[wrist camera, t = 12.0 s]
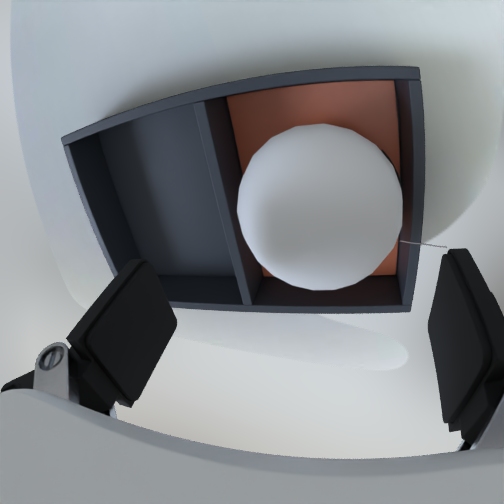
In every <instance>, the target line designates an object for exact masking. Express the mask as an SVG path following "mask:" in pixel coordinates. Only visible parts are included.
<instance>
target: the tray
mask: <svg viewBox="0 0 504 504" xmlns="http://www.w3.org/2000/svg"><path fill="white" fill-rule="evenodd" d="M420 79H421V77H420V69H419V67H411V66H356V67H337V68H323V69H312V70H303V71H294V72H286V73H279V74H272V75H266V76H260V77H254V78H248V79H243V80H238V81H233V82H228V83H223V84H219V85H214V86H210V87H206V88H201V89H197V90H193V91H190V92H186V93H182V94H178V95H175V96H171V97H168V98H165V99H161V100H158V101H155V102H152V103H148V104H145V105H142V106H139V107H136V108H133V109H130V110H128V111H125V112H122V113H119V114H117V115H114V116H111V117H109V118H106V119H103V120H101V121H98V122H96V123H93V124H91V125H89V126H86V127H84V128H81V129H79V130H77V131H75V132H72V133H70V134H68V135H66V136H63V137H62V138H61V141H62V144H63V146H64V151H65V154H66V157H67V160H68V163H69V166H70V169H71V172H72V175H73V178H74V181H75V184H76V187H77V189H78V192H79V195H80V198H81V200H82V203H83V205H84V208H85V211H86V213H87V216H88V218H89V221H90V223H91V226H92V228H93V231H94V233H95V235H96V238H97V240H98V242H99V245H100V247H101V249H102V251H103V254H104V256H105V258H106V260H107V263H108V265H109V267H110V269H111V271H112V273H113V275H114V277H116V276H117V274H118V273H119V272H120V271H121V270H122V269H123V268H124V266H125V265H126V264H127V263H128V262H129V261H130V260H132V259H147V260H148V261H149V263H151V264H152V265H153V266H154V269H155V271H156V274H157V276H158V278H159V281H160V283H161V285H162V288H163V290H164V292H165V295H166V297H167V299H168V301H169V304H170V306H171V307H172V308H185V309H201V310H218V311H238V312H265V313H311V314H322V313H323V314H326V313H327V314H335V313H336V314H341V313H342V314H343V313H344V314H350V313H351V314H354V313H400V312H410V311H411V306H412V305H411V304H412V300H413V295H414V288H415V283H416V276H417V269H418V261H419V253H420V245H421V244H412V243H421V235H422V224H423V210H424V191H425V129H424V110H423V97H422V86H421V81H420ZM323 123H325V124H329V125H334V126H338V127H342V128H347V129H350V130H353V131H355V132H356V133H358V134H359V135H361V136H363V137H364V138H366V139H368V140H369V141H371V142H372V143H374V144H375V145H376V146H377V147H378V148H379V149H380V150H382V149H383V151H384V152H385V153H386V154H387V155H388V157H389V158H390V159H391V161H392V163H393V164H394V166H395V168H396V170H397V172H398V174H399V177H400V180H401V183H402V188H403V195H404V207H403V215H402V227H401V230H400V233H399V235H398V238H397V241H396V243H395V246H394V248H393V249H392V250H391V252H390V253H389V254H388V255H387V256H386V258H385V259H384V260H383V261H382V262H381V264H380V265H379V266H378V267H377V268H376V269H375V271H374V272H373V273H372V274H370V275H368V276H367V277H365V278H364V279H362V280H360V281H359V282H357V283H356V284H353V285H349V286H346V287H343V288H339V289H336V290H310V289H306V288H301V287H297V286H293V285H291V284H289V283H287V282H285V281H283V280H281V279H279V278H277V277H275V276H273V275H272V274H271V273H270V272H269V271H268V270H267V269H266V268H265V267H263V266H262V265H261V264H260V263H259V262H258V261H257V259H256V258H255V256H254V254H253V253H252V251H251V249H250V248H249V246H248V244H247V243H246V240H245V238H244V236H243V234H242V230H241V226H240V222H239V218H238V214H237V204H238V194H239V187H240V184H241V181H242V178H243V175H244V173H245V171H246V169H247V167H248V165H249V163H250V161H251V159H252V156H253V155H254V154H255V153H256V152H257V151H258V150H259V149H260V148H261V147H262V146H263V145H264V144H265V143H266V142H267V141H268V140H269V139H270V138H272V137H274V136H276V135H278V134H280V133H282V132H284V131H286V130H289V129H291V128H293V127H295V126H303V125H312V124H323ZM400 241H406V242H412V243H406V242H400Z"/></svg>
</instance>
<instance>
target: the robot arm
mask: <svg viewBox="0 0 504 504" xmlns="http://www.w3.org/2000/svg"><path fill="white" fill-rule="evenodd" d="M176 327H177V319H176V317H175V315H174V312H173V310H172V308H171V306H170V304H169V301H168V299H167V297H166V295H165V292H164V290H163V288H162V285H161V283H160V281H159V278H158V276H157V274H156V271H155V269H154V266H153V265H152V264H151V263H149V261H148V260H147V259H132V260H130V261H129V262H128V263H127V264H126V265H125V266H124V268H123V269H122V270H121V271H120V272H119V273H118V274H117V276H116V277H115V278H114V279H113V280H112V282H111V283H110V284H109V285H108V286H107V287H106V289H105V290H104V291H103V292H102V294H101V295H100V296H99V297H98V298H97V300H96V301H95V302H94V303H93V305H92V306H91V307H90V308H89V309H88V311H87V312H86V313H85V315H84V316H83V317H82V318H81V320H80V321H79V322H78V323H77V325H76V326H75V327H74V329H73V330H72V331H71V332H70V334H69V335H68V336H67V338H66V339H67V340H68V342H69V343H70V344H71V348H70V349H69V348H68V347H67V346H66V344H64V343H62V342H56V343H53V344H51V345H49V346H47V347H46V348H45V349H44V350H43V351H42V352H41V353H40V354H39V356H38V358H37V360H36V363H35V370H33V371H31V372H29V373H27V374H25V375H23V376H21V377H18V378H16V379H14V380H12V381H10V382H8V383H6V384H5V385H4V386H3V387H2V389H1V393H0V504H504V316H503V314H502V311H501V309H500V307H499V305H498V303H497V301H496V299H495V297H494V295H493V294H492V292H490V290H489V288H488V286H487V284H486V282H485V281H484V278H483V277H482V275H481V273H480V271H479V269H478V267H477V265H476V263H475V262H474V260H473V258H472V256H471V254H470V253H469V251H468V250H467V249H466V248H464V249H450V250H449V251H448V253H447V254H444V255H443V256H442V260H441V265H440V271H439V276H438V281H437V286H436V291H435V295H434V300H433V304H432V308H431V312H430V316H429V320H428V333H429V337H430V342H431V346H432V352H433V357H434V362H435V368H436V373H437V380H438V385H439V393H440V400H441V408H442V416H443V421H444V423H448V425H449V432H453V431H459V430H461V436H462V439H463V441H462V443H461V444H460V446H459V447H458V449H457V450H456V451H455V452H448V453H440V454H431V455H423V456H412V457H399V458H378V459H321V458H304V457H291V456H280V455H271V454H262V453H255V452H249V451H242V450H236V449H230V448H224V447H219V446H213V445H209V444H204V443H200V442H195V441H190V440H186V439H182V438H178V437H174V436H171V435H167V434H163V433H159V432H156V431H153V430H149V429H146V428H142V427H139V426H136V425H133V424H130V423H127V422H124V421H121V420H118V419H117V416H116V411H115V406H114V403H115V401H117V402H118V403H119V404H120V405H123V406H126V407H130V408H131V407H132V405H133V404H134V402H135V401H136V400H138V398H139V397H140V395H141V393H142V391H143V389H144V387H145V386H146V384H147V382H148V380H149V378H150V376H151V374H152V372H153V370H154V368H155V367H156V364H157V363H158V361H159V359H160V357H161V355H162V354H163V352H164V350H165V348H166V346H167V344H168V342H169V340H170V339H171V337H172V335H173V333H174V331H175V329H176Z"/></svg>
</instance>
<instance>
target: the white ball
mask: <svg viewBox="0 0 504 504" xmlns="http://www.w3.org/2000/svg"><path fill="white" fill-rule="evenodd" d="M403 207H404V195H403V188H402V183H401V180H400V177H399V174H398V172H397V170H396V168H395V166H394V164H393V163H392V161H391V159H390V158H389V157H388V155H387V154H386V153H385V152H384V151H383V149H382V150H380V149H379V148H378V147H377V146H376V145H375V144H374V143H372V142H371V141H369V140H368V139H366V138H364V137H363V136H361V135H359V134H358V133H356V132H355V131H353V130H350V129H347V128H342V127H338V126H334V125H329V124H325V123H323V124H312V125H303V126H295V127H293V128H291V129H289V130H286V131H284V132H282V133H280V134H278V135H276V136H274V137H272V138H270V139H269V140H268V141H267V142H266V143H265V144H264V145H263V146H262V147H261V148H260V149H259V150H258V151H257V152H256V153H255V154H254V155H253V156H252V159H251V161H250V163H249V165H248V167H247V169H246V171H245V173H244V175H243V178H242V181H241V184H240V187H239V194H238V204H237V214H238V218H239V222H240V226H241V230H242V234H243V236H244V238H245V240H246V243H247V244H248V246H249V248H250V249H251V251H252V253H253V254H254V256H255V258H256V259H257V261H258V262H259V263H260V264H261V265H262V266H263V267H265V268H266V269H267V270H268V271H269V272H270V273H271V274H272V275H273V276H275V277H277V278H279V279H281V280H283V281H285V282H287V283H289V284H291V285H293V286H297V287H301V288H306V289H310V290H336V289H339V288H343V287H346V286H349V285H353V284H356V283H357V282H359V281H360V280H362V279H364V278H365V277H367V276H368V275H370V274H372V273H373V272H374V271H375V269H376V268H377V267H378V266H379V265H380V264H381V262H382V261H383V260H384V259H385V258H386V256H387V255H388V254H389V253H390V252H391V250H392V249H393V248H394V246H395V243H396V241H397V238H398V235H399V233H400V230H401V227H402V215H403ZM400 242H406V241H400ZM406 243H412V242H406ZM412 244H422V243H412ZM423 245H430V244H423ZM430 246H435V245H430ZM437 247H445V246H437ZM446 248H447V247H446Z"/></svg>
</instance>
